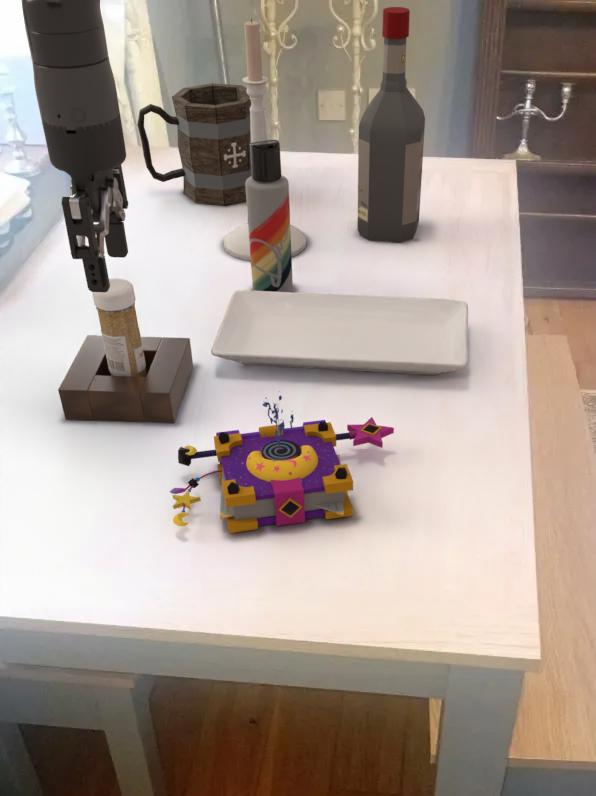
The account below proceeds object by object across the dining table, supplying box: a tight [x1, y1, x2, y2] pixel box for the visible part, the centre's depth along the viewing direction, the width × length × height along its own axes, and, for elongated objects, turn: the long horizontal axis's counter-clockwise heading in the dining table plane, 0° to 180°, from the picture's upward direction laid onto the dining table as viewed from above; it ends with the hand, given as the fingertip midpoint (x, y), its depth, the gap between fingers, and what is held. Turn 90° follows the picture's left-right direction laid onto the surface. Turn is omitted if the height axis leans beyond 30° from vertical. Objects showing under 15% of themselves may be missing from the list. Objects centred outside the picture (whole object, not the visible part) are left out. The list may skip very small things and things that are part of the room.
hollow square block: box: [57, 334, 194, 424], centre depth 107 cm, size 13×13×4 cm
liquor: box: [356, 6, 426, 244], centre depth 132 cm, size 9×9×30 cm
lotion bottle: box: [245, 139, 294, 292], centre depth 121 cm, size 6×6×20 cm
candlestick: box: [223, 18, 307, 262], centre depth 129 cm, size 13×13×30 cm
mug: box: [136, 82, 252, 207], centre depth 150 cm, size 20×14×15 cm
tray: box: [210, 289, 469, 376], centre depth 115 cm, size 17×32×4 cm, turn 84°
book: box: [169, 387, 395, 534], centre depth 90 cm, size 14×25×12 cm, turn 102°
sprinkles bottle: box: [91, 277, 147, 377], centre depth 104 cm, size 5×5×14 cm
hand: (109, 273), depth 98 cm, fingers open, 8 cm apart
